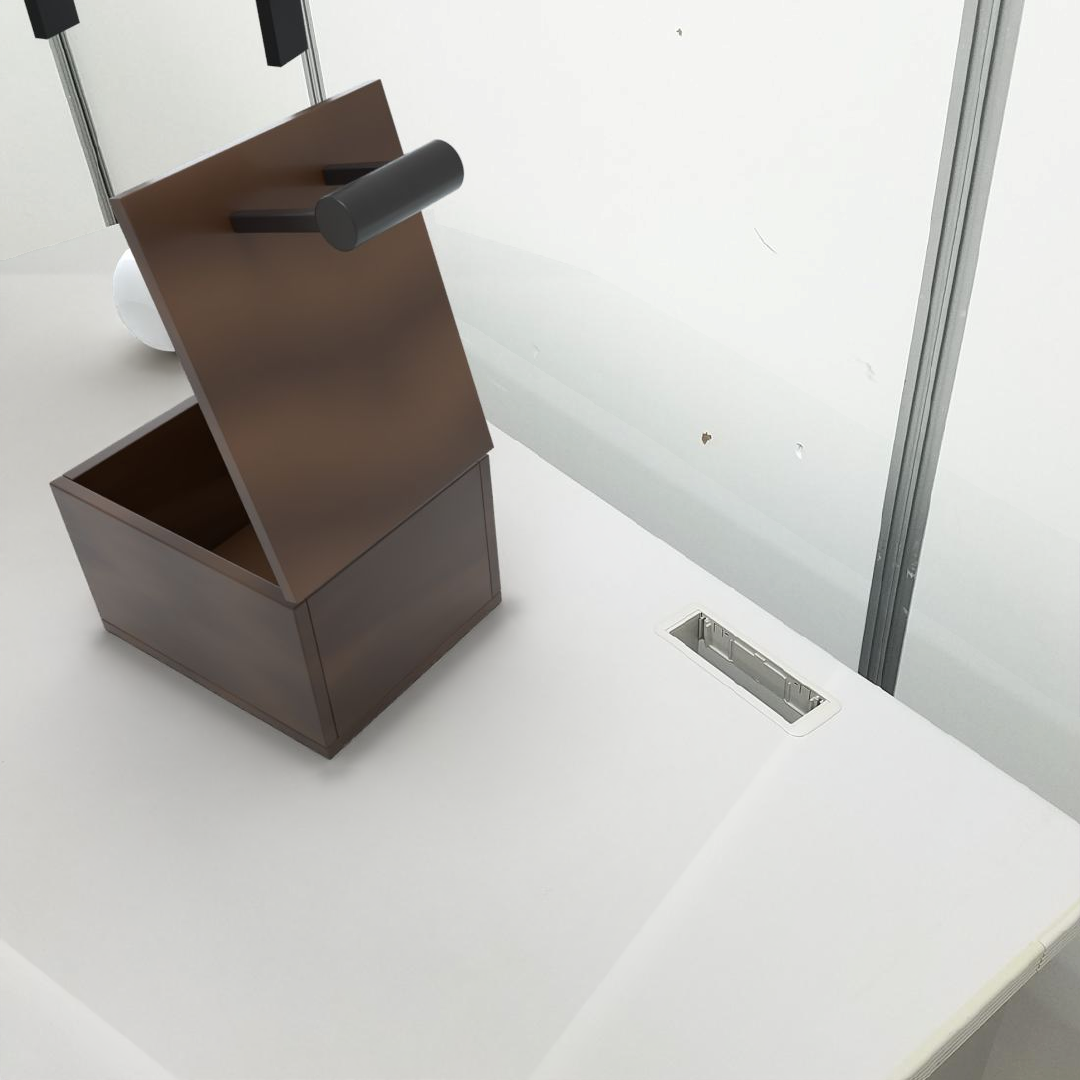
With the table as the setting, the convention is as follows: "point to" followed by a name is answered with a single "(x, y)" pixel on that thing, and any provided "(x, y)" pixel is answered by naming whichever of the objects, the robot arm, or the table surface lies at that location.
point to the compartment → (272, 583)
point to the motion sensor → (138, 305)
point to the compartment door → (315, 325)
